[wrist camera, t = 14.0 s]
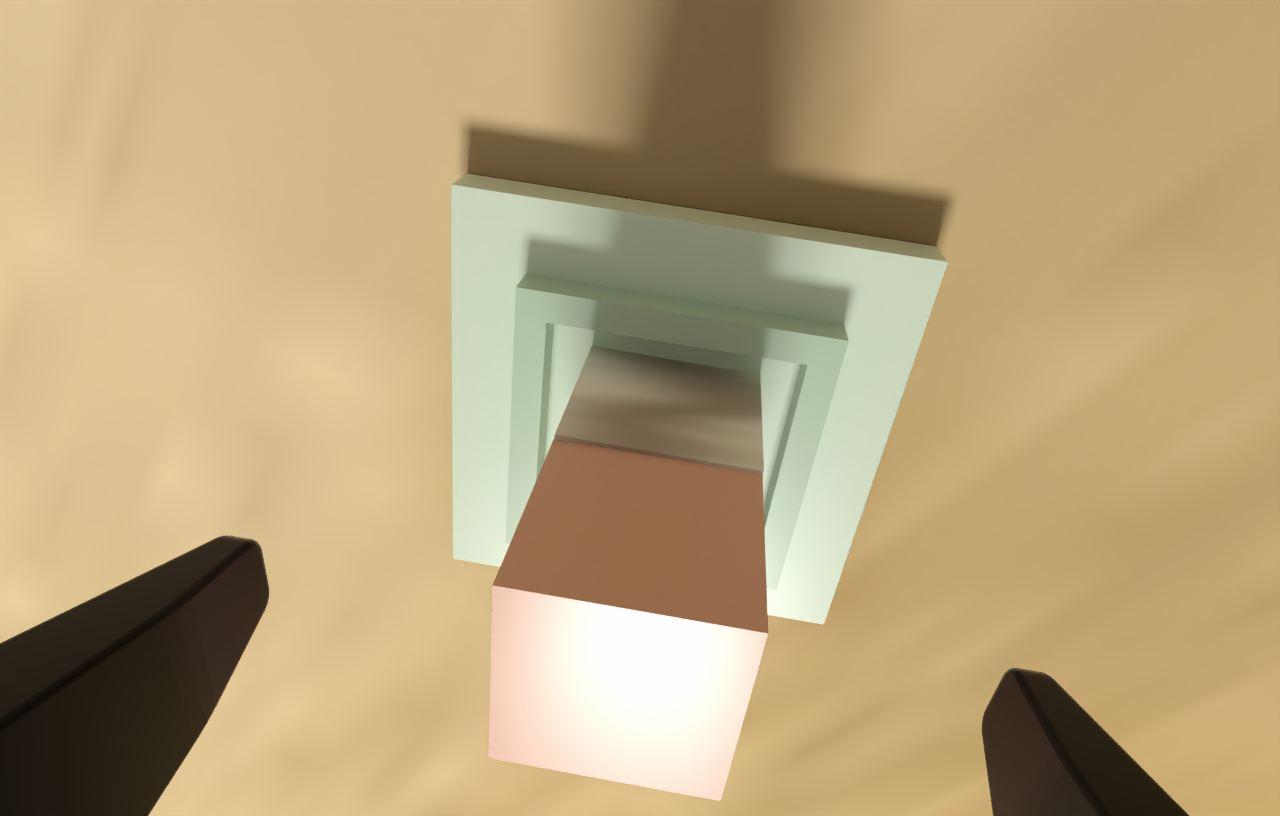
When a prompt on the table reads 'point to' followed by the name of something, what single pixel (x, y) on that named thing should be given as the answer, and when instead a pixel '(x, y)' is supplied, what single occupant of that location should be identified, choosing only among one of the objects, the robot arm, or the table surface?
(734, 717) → the salmon pink cube
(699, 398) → the cream brick
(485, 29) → the table surface
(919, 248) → the baseplate
